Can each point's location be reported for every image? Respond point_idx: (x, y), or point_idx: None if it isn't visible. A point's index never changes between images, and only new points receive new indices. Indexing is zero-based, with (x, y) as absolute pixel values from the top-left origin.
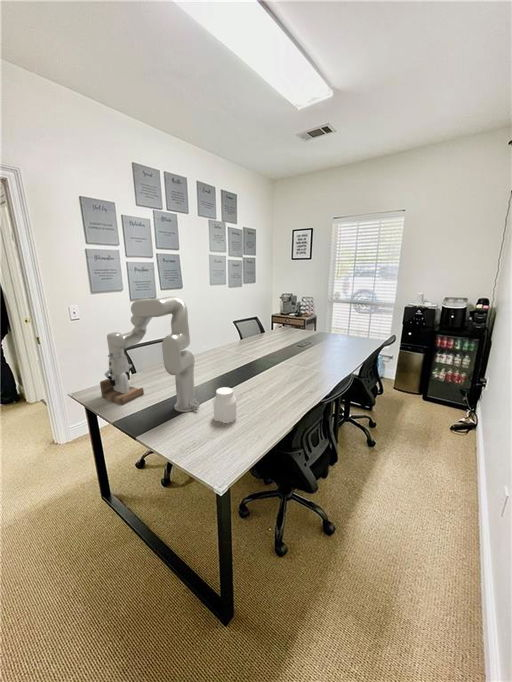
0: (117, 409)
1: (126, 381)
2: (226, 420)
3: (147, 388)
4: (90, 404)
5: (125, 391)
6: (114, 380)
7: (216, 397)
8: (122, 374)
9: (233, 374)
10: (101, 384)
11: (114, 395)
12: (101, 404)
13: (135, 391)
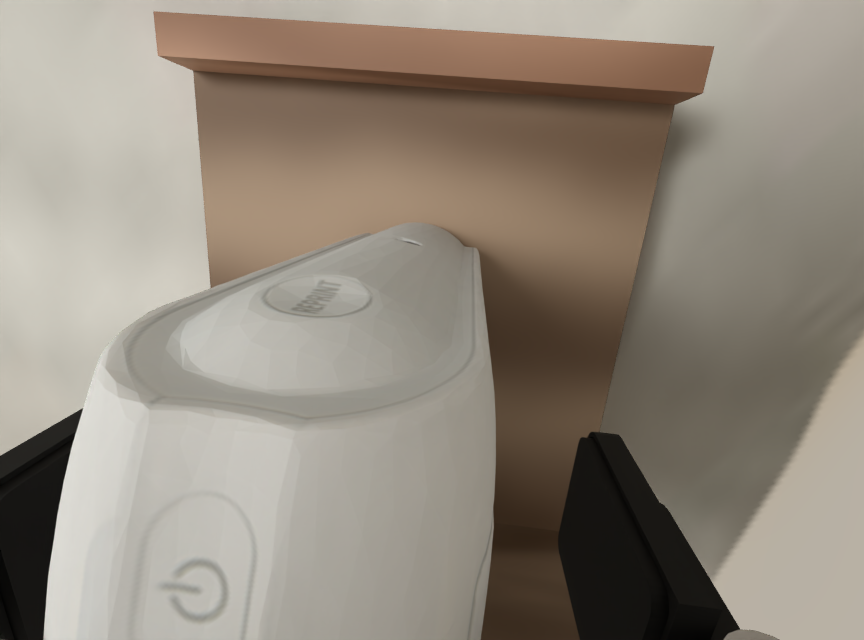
0: (811, 54)
1: (359, 248)
2: None
3: (78, 182)
4: (740, 515)
5: (450, 237)
6: (674, 569)
7: None
8: (326, 576)
9: None
10: None
11: (573, 357)
12: (710, 401)
13: (367, 25)
